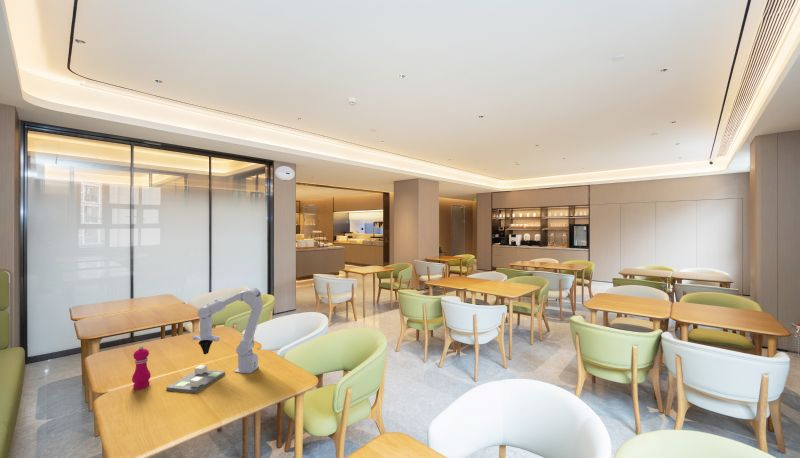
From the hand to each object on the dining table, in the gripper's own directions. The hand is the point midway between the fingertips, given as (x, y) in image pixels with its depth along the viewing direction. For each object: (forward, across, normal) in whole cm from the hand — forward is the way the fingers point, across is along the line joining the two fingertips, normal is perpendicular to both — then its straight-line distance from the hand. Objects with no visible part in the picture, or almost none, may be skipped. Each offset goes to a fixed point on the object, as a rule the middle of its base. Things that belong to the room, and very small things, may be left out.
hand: (206, 353), depth 181 cm
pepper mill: (+10, -18, -21) cm, 29 cm away
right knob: (+8, +2, -6) cm, 10 cm away
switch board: (+9, +5, -12) cm, 16 cm away
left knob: (+7, +10, -18) cm, 22 cm away
